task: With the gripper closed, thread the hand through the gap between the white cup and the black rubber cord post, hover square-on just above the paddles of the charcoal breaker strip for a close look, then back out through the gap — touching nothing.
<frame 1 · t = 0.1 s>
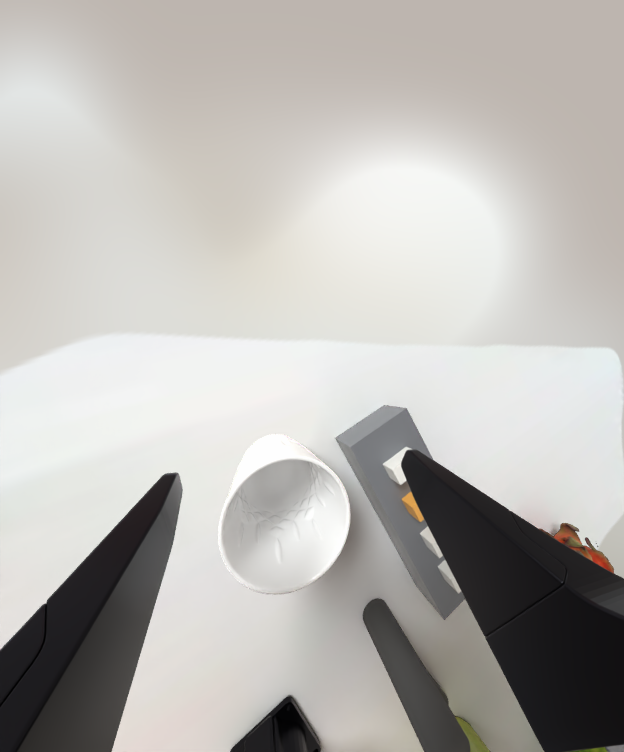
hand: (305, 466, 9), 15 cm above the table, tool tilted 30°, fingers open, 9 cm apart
breaker strip: (400, 495, 26), on the table
cord post: (375, 613, 25), on the table
plant pot: (448, 741, 26), on the table
white cup: (274, 466, 23), on the table
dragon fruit: (529, 546, 31), on the table
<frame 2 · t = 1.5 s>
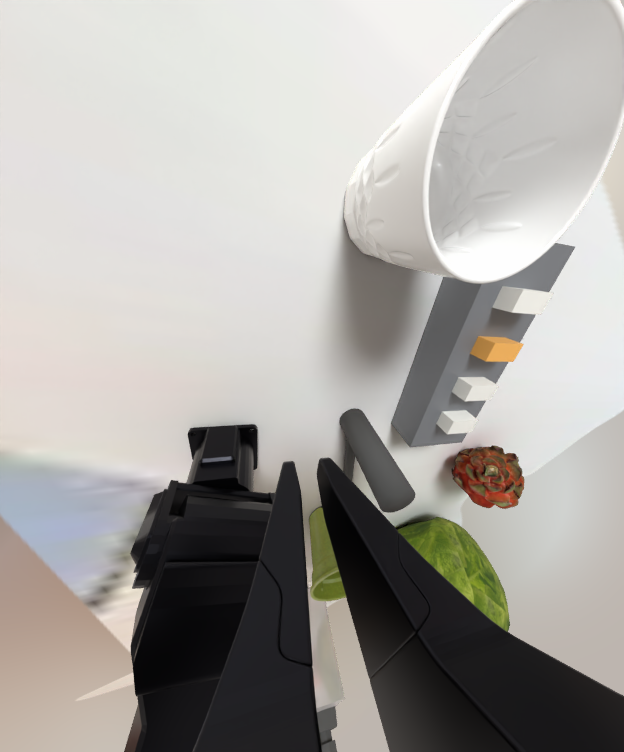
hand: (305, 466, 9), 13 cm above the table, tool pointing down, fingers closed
lettuce: (397, 535, 45), on the table
breaker strip: (446, 349, 24), on the table
cord: (347, 465, 30), on the table
cord post: (351, 419, 26), on the table
plant pot: (327, 512, 36), on the table
white cup: (385, 207, 17), on the table
soap dispenser: (299, 594, 49), on the table
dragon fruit: (467, 454, 36), on the table
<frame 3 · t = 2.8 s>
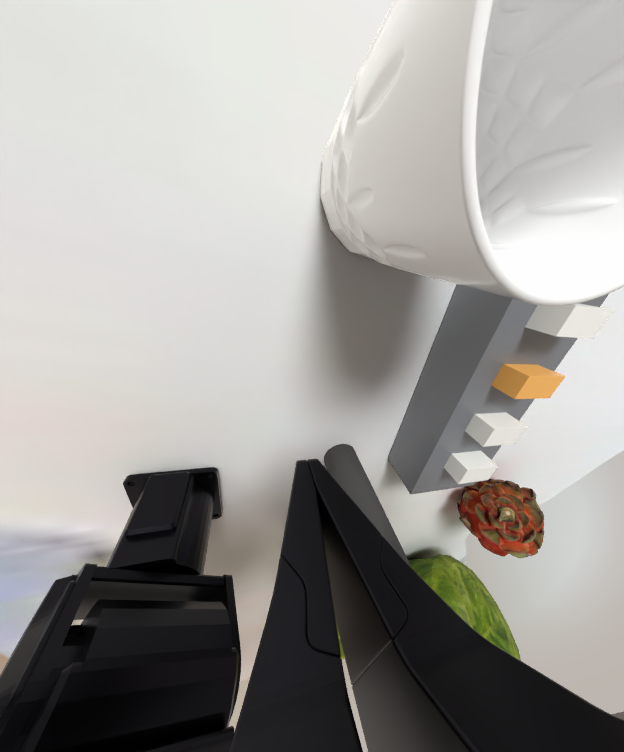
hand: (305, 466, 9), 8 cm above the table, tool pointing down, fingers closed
lettuce: (394, 570, 40), on the table
breaker strip: (456, 372, 19), on the table
cord post: (339, 455, 21), on the table
white cup: (380, 186, 12), on the table
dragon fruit: (476, 486, 31), on the table
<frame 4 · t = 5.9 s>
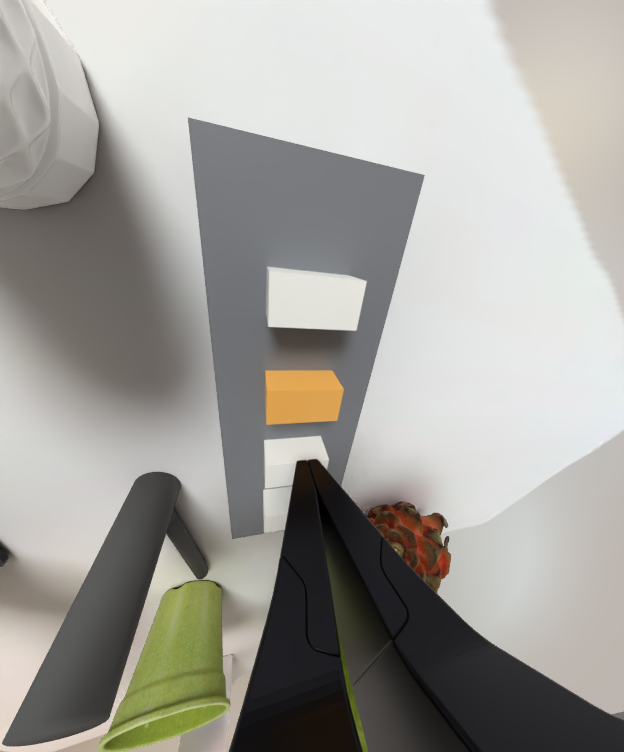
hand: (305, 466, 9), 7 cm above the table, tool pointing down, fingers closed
lettuce: (318, 597, 36), on the table
breaker strip: (285, 379, 15), on the table
cord: (188, 540, 21), on the table
cord post: (157, 485, 17), on the table
plant pot: (193, 589, 26), on the table
soap dispenser: (204, 664, 40), on the table
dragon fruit: (387, 509, 27), on the table
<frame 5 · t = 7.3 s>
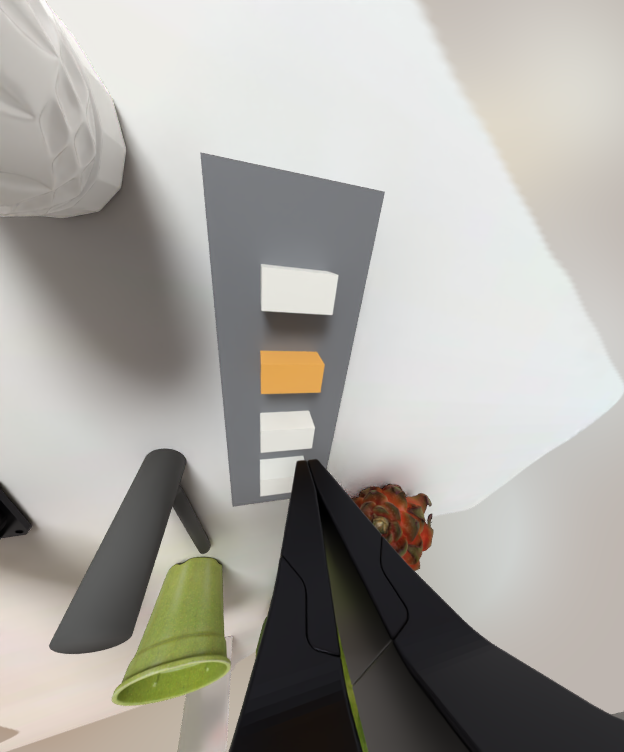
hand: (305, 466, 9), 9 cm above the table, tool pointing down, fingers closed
lettuce: (314, 580, 38), on the table
breaker strip: (279, 364, 17), on the table
cord: (192, 516, 23), on the table
cord post: (165, 461, 19), on the table
plant pot: (196, 566, 28), on the table
white cup: (30, 116, 9), on the table
soap dispenser: (205, 646, 42), on the table
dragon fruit: (376, 492, 29), on the table
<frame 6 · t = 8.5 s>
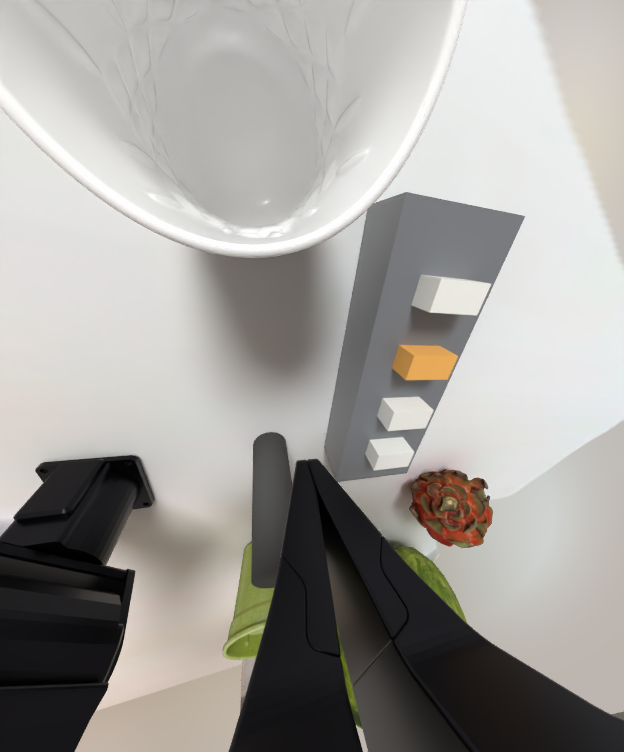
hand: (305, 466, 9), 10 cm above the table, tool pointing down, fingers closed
lettuce: (361, 562, 40), on the table
breaker strip: (379, 358, 19), on the table
cord post: (269, 444, 21), on the table
plant pot: (267, 544, 31), on the table
white cup: (246, 160, 12), on the table
soap dispenser: (255, 624, 45), on the table
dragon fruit: (431, 477, 31), on the table
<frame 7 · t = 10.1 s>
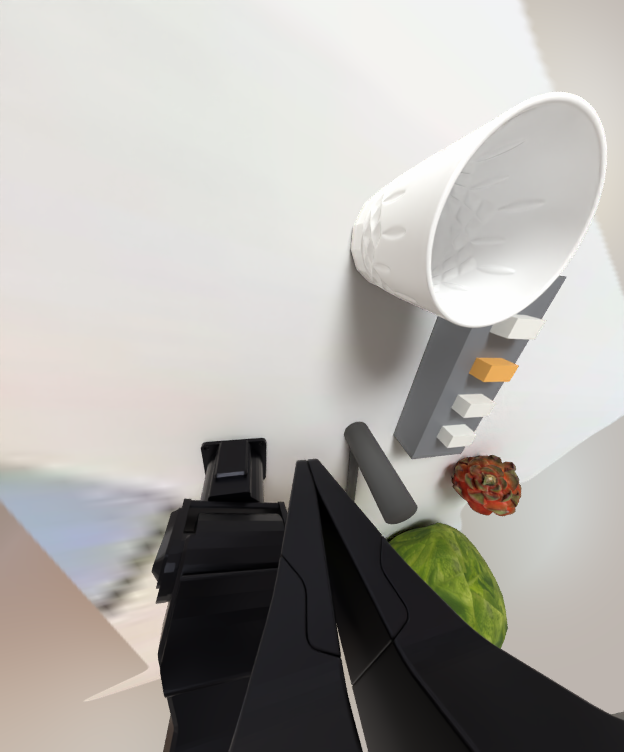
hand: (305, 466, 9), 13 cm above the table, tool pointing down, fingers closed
lettuce: (398, 539, 47), on the table
breaker strip: (446, 365, 25), on the table
cord: (350, 474, 32), on the table
cord post: (355, 431, 28), on the table
white cup: (389, 240, 18), on the table
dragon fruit: (467, 462, 37), on the table
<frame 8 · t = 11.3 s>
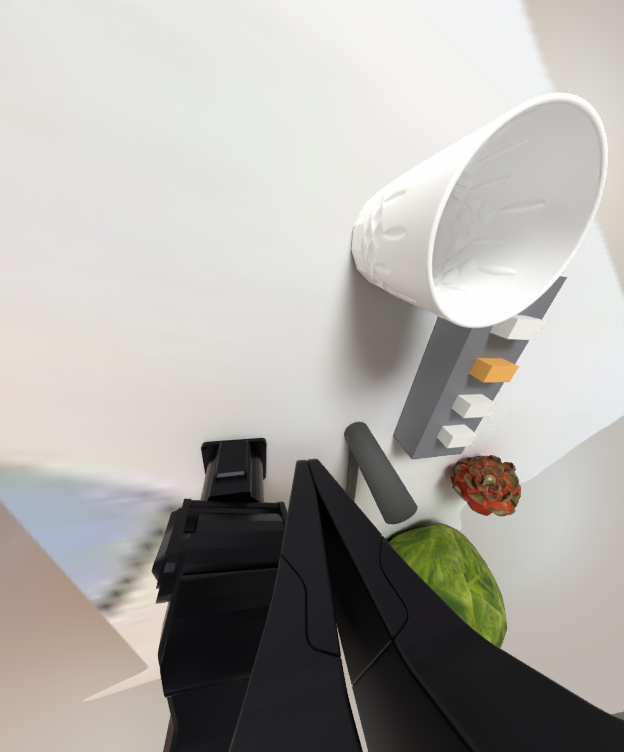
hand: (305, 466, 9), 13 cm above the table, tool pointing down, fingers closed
lettuce: (398, 539, 47), on the table
breaker strip: (446, 365, 25), on the table
cord: (350, 474, 32), on the table
cord post: (356, 431, 28), on the table
white cup: (389, 240, 18), on the table
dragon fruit: (466, 463, 37), on the table
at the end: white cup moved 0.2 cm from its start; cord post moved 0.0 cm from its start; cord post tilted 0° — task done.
